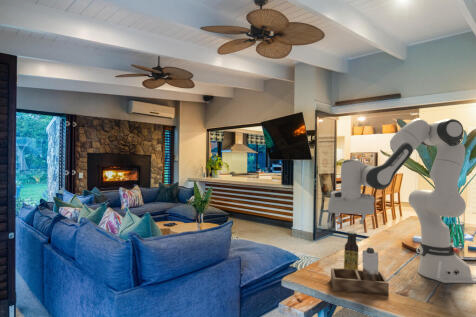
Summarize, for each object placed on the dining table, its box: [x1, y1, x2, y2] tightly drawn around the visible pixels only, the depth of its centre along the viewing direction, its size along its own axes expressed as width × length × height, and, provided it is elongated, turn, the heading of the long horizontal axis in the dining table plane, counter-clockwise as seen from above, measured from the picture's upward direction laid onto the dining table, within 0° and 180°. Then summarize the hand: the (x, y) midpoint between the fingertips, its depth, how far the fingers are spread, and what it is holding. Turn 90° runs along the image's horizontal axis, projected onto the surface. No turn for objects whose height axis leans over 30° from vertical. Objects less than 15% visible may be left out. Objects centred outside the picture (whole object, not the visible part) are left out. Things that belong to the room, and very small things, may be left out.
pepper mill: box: [362, 246, 379, 281], centre depth 124 cm, size 6×6×16 cm
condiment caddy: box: [330, 267, 390, 296], centre depth 125 cm, size 21×12×5 cm, turn 77°
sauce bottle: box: [343, 231, 359, 270], centre depth 138 cm, size 6×6×20 cm
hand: (350, 223), depth 138 cm, fingers open, 8 cm apart
